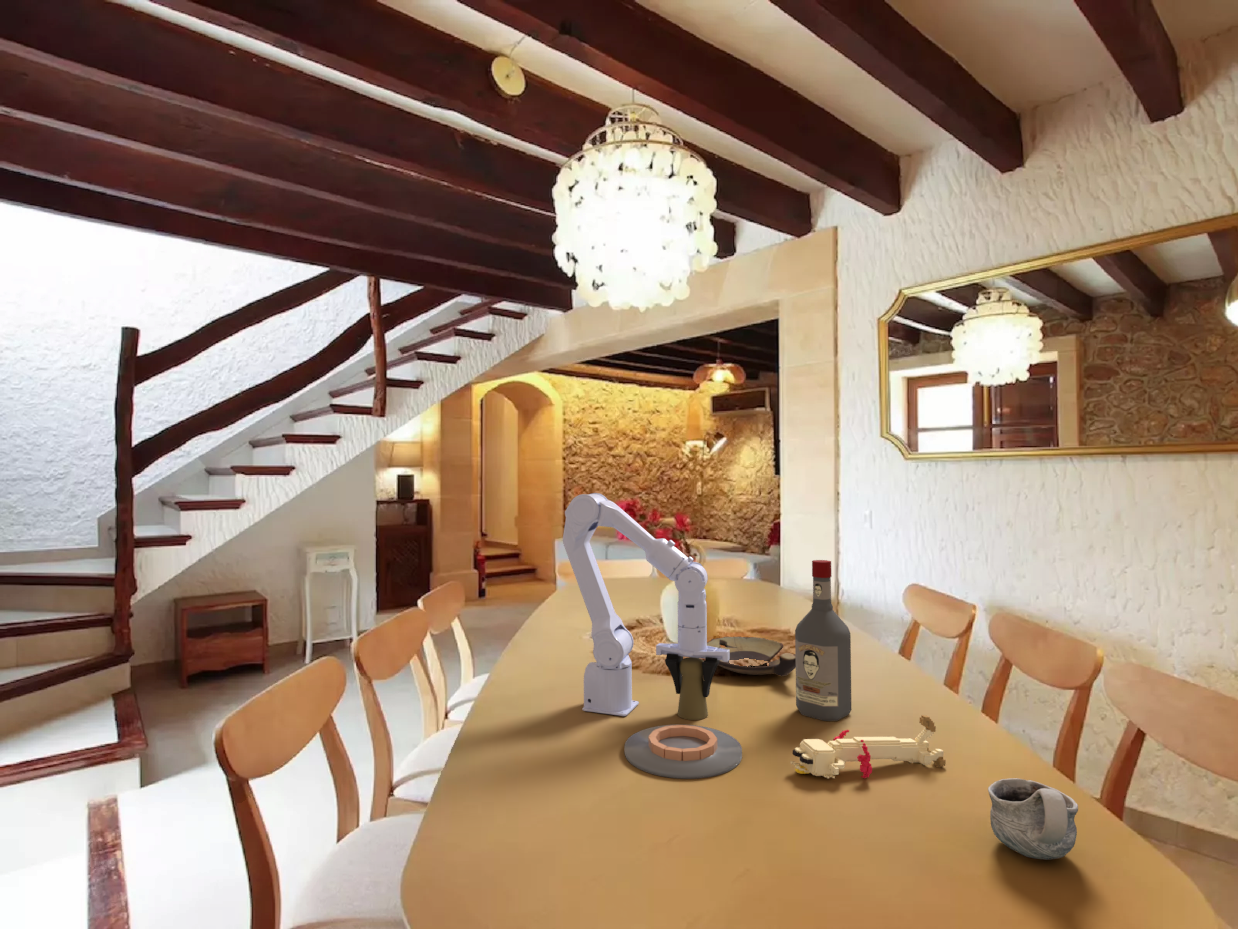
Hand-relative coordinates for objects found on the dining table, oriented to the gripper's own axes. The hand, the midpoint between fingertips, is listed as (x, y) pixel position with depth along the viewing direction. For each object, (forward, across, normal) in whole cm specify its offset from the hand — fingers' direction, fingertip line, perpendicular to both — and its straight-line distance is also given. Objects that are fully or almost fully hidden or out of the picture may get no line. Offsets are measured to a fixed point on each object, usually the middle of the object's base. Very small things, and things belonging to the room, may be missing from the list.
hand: (692, 694), depth 133 cm
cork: (+4, 0, 0) cm, 4 cm away
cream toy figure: (+4, +32, -14) cm, 35 cm away
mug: (+4, +53, -33) cm, 63 cm away
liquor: (+4, +24, +10) cm, 26 cm away
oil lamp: (+4, +6, +32) cm, 33 cm away
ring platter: (+4, +3, -18) cm, 19 cm away
